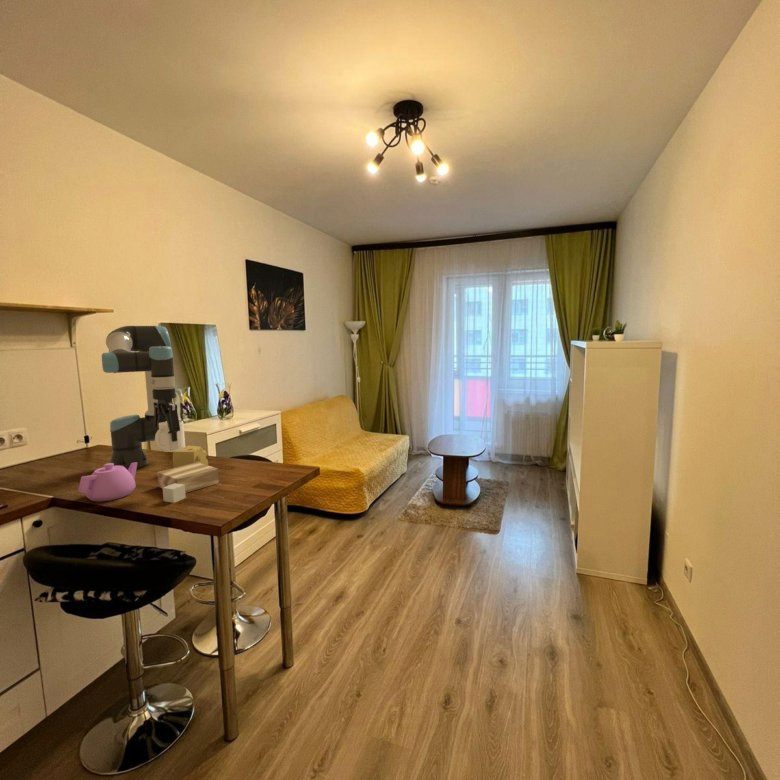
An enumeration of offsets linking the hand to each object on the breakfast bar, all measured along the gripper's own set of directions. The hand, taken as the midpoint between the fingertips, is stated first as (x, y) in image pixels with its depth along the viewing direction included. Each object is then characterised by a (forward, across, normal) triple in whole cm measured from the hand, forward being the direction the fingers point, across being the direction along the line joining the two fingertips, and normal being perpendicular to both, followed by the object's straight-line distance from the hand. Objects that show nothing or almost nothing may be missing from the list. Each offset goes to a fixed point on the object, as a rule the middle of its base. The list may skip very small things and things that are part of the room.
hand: (168, 447), depth 154 cm
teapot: (+17, -15, -15) cm, 27 cm away
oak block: (+17, -1, +7) cm, 18 cm away
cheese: (+17, -21, +18) cm, 32 cm away
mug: (+1, +1, 0) cm, 1 cm away
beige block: (+17, +10, -4) cm, 20 cm away
